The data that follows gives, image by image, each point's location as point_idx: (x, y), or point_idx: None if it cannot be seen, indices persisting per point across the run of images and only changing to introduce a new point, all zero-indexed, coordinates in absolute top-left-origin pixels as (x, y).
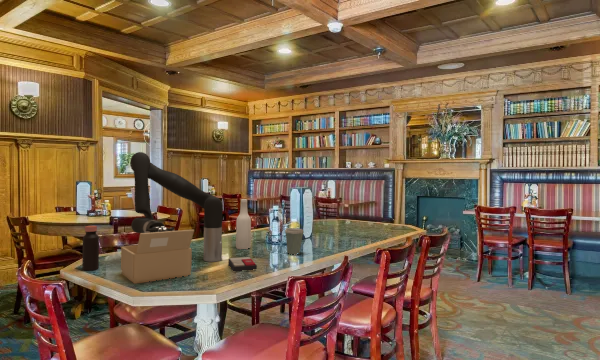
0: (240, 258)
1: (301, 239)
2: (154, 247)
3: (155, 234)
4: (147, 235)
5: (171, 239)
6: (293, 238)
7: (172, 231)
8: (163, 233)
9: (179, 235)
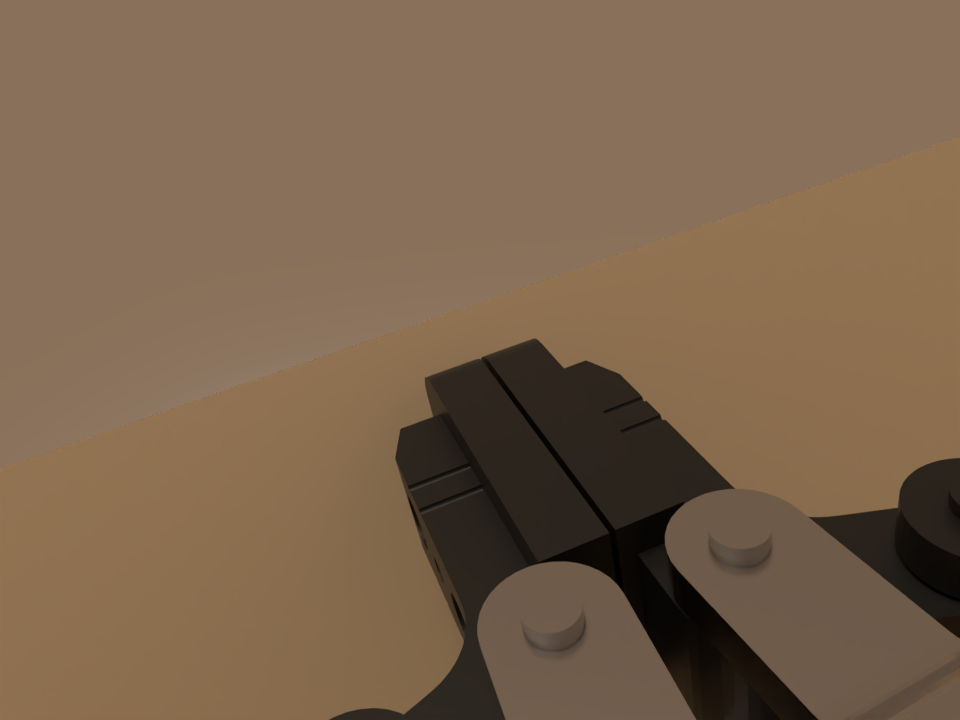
0: None
1: None
2: None
3: (776, 252)
4: (953, 204)
5: (394, 656)
6: None
7: (312, 363)
8: (578, 310)
9: (115, 619)
